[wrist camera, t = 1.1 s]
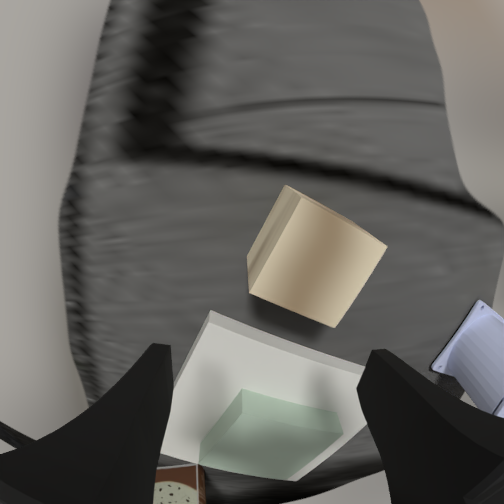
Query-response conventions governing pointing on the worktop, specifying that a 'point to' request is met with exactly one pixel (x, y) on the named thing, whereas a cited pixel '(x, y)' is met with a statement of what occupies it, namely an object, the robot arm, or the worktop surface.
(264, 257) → the maple cube
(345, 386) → the base board
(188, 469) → the food container
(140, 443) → the robot arm
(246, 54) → the worktop surface
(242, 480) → the worktop surface
